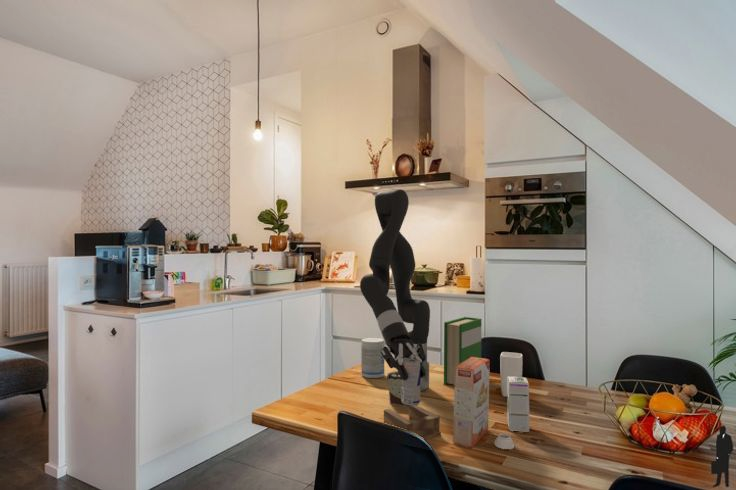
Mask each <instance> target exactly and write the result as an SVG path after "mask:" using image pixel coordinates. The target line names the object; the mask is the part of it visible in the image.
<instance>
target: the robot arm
mask: <svg viewBox="0 0 736 490" xmlns="http://www.w3.org/2000/svg"><path fill="white" fill-rule="evenodd" d="M409 201H410V200H409V197H408V193H407V192H406V191H405V190H404V189H391V190H382V191H379V192H377V193H376V195H375V197H374V207H375V212H376V215H377V218H378V221H379V225H380V227H381V233H380V234H378V237H377V238H376V240H375V241H374V243H373V246H372V249H371V253H370V257H369V263H368V266H369V268H370V270H371V271H372V273H367V274H365V275H363V276H362V278H361V279H360V281H359V282H360V283H359V286H360V287H359V288H360V291H361V294H362V296H363V298H364V299H365V300H366V302H367V304H368V305H369V306H370V307H371V309H372V312H373V315H374V317H375V319H376V323H377V325H378V328H379V330H380V333H381V336H382V337H383V338H382V339H383V340H384V344H385V345H386V346H385V345H384V348H383V349H382V351H381V354H382V356H383V358H384V362H386V364H387V365H388V367H389V368H390V369H395V370H397V371H398V373H399V375H400V377H401V379H403V381H404V380H407V378H408V374H407V372H406V370H405V367H404V365H402V362H403V360H404V359H417V360H419V361H420V364H421V377H420V378H421V381H422V384H421V385H420V392H422V391H426V390H427V389H429V388H430V363H429V361H428V337H429V333H430V321H431V320H430V319H431V309H430V304H429V303H428V301H427V300H424V299H417V298H412V295H411V289H410V287H411V281H412V278H413V276H414V273H415V271H416V261H415V253H414V249H413V247H412V245H411V244H410V242H409V241H408V240H407V239H406V237H405V236H404V235H403V234H402V233H401V232H400V231H401V229H402V226H403V223H404V221H405V218H406V215H407V213H408V210H409V203H410V202H409ZM390 271H391V272H390ZM391 273H392V278H393V279H392V280H393V283H394V290H395V298H396V305H397V308H396V306H395V304H394V302H393V300H392V299H391V298H390V296H388V294H389V291H390V284H391V282H390V281H391V280H390V279H391V277H390V275H391ZM405 323H407V324H412V325H413V326H412V330H411V331H408V330H407V327H406V325H405Z"/></svg>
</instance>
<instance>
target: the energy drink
mask: <svg viewBox="0 0 736 490" xmlns="http://www.w3.org/2000/svg"><path fill="white" fill-rule="evenodd" d="M402 365H404V367H405V370H406V372H407V374H408V378H407V380H404V381H403V379H402V391H401V402H402V403H403V404H405V405H409V406H415V405H418V406H419V405H420V403H421V391H420V377H421V364H420V361H419V360H417V359H404V360H403V359H402Z"/></svg>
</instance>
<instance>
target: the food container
mask: <svg viewBox="0 0 736 490" xmlns="http://www.w3.org/2000/svg"><path fill="white" fill-rule="evenodd" d="M385 380H386V381H387V387H388V396H389V397H388V399H389V404H390V405H395V406H401V407H407V408H409V405H405V404H403V403H402V402H401V391H402V379H401V377H400V375H399V373H398V370H397V371H390V372H388V373H387V375H386V378H385ZM421 384H422V381H421V378H420V385H421Z"/></svg>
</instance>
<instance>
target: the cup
mask: <svg viewBox="0 0 736 490" xmlns="http://www.w3.org/2000/svg"><path fill="white" fill-rule="evenodd" d="M499 361H500V363H499V364H500V365H499V366H500V367H499V369H500V370H499V372H500V375H499V376H500V387H501V396H503V397H504V398H507V377H512V376H516V377H523V353H519V352H509V351H502V352H501V353H500V356H499Z"/></svg>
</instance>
